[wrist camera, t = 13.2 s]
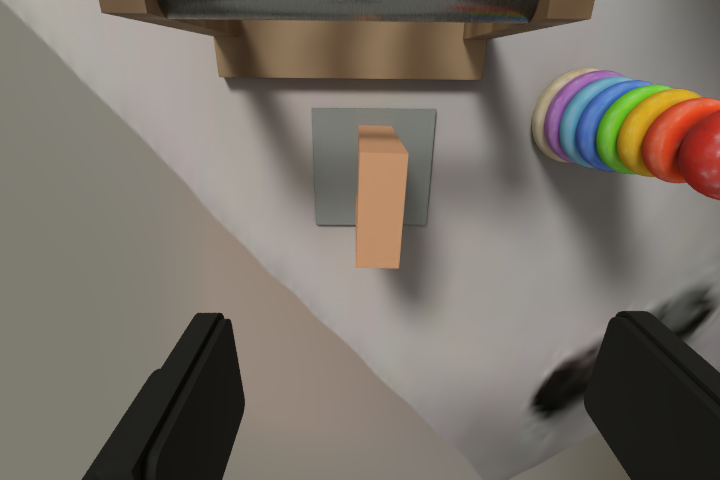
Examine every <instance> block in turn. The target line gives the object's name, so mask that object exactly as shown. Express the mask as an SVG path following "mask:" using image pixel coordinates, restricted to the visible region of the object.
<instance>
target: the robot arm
mask: <svg viewBox="0 0 720 480" xmlns="http://www.w3.org/2000/svg"><path fill="white" fill-rule="evenodd" d="M584 405H585V408H586V411H587V413H588V414H589V416H590V417H591V419H592V420H593V422H594V424H595V425H596V427H597V428H598V430H599V431H600V433H601V434H602V436H603V437H604V439H605V440H606V442H607V444H608V445H609V447H610V448H611V450H612V451H613V453H614V454H615V456H616V457H617V459H618V460H619V462H620V463H621V465H622V467H623V468H624V470H625V471H626V473H627V474H628V476H629V477H630V479H631V480H720V373H719V372H718V371H717V370H716V369H715V368H714V367H712V366H711V365H710V364H709V363H708V362H707V361H706V360H704V359H703V358H702V357H701V356H700V355H699V354H697V353H696V352H695V351H694V350H693V349H692V348H690V347H689V346H688V345H687V344H686V343H685V342H684V341H682V340H681V339H680V338H679V337H678V336H677V335H675V334H674V333H673V332H672V331H671V330H670V329H668V328H667V327H666V326H665V325H664V324H663V323H662V322H660V321H659V320H658V319H657V318H656V317H655V316H653V315H652V314H651V313H649V312H646V311H621V312H619V313H617V314H616V316H615V317H613V318H611V319H610V321H609V323H608V326H607V329H606V332H605V335H604V338H603V341H602V344H601V347H600V350H599V353H598V356H597V359H596V362H595V366H594V369H593V372H592V375H591V378H590V381H589V384H588V387H587V390H586V393H585V396H584ZM244 406H245V399H244V392H243V386H242V380H241V375H240V369H239V363H238V357H237V352H236V346H235V341H234V334H233V329H232V324H231V320H230V319H224V316H223V314H222V313H197V314H196V315H195V316H194V317H193V319H192V321H191V322H190V324H189V325H188V327H187V329H186V330H185V331H184V333H183V335H182V336H181V338H180V339H179V341H178V342H177V344H176V346H175V347H174V349H173V350H172V352H171V353H170V355H169V357H168V358H167V360H166V361H165V363H164V365H163V366H162V368H161V369H157V370H155V371H154V372H153V373H152V374H151V375H150V376H149V378H148V380H147V381H146V383H145V384H144V385H143V387H142V389H141V390H140V392H139V393H138V395H137V396H136V398H135V399H134V401H133V402H132V404H131V406H130V407H129V408H128V410H127V411H126V413H125V414H124V416H123V417H122V419H121V421H120V422H119V424H118V425H117V427H116V428H115V430H114V431H113V433H112V434H111V436H110V437H109V439H108V440H107V442H106V443H105V445H104V446H103V448H102V449H101V451H100V453H99V454H98V456H97V457H96V459H95V460H94V462H93V463H92V465H91V466H90V468H89V469H88V471H87V472H86V474H85V475H84V477H83V478H82V480H222V478H223V475H224V472H225V469H226V466H227V463H228V459H229V456H230V454H231V451H232V447H233V444H234V441H235V438H236V435H237V432H238V429H239V425H240V423H241V420H242V416H243V413H244Z"/></svg>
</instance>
